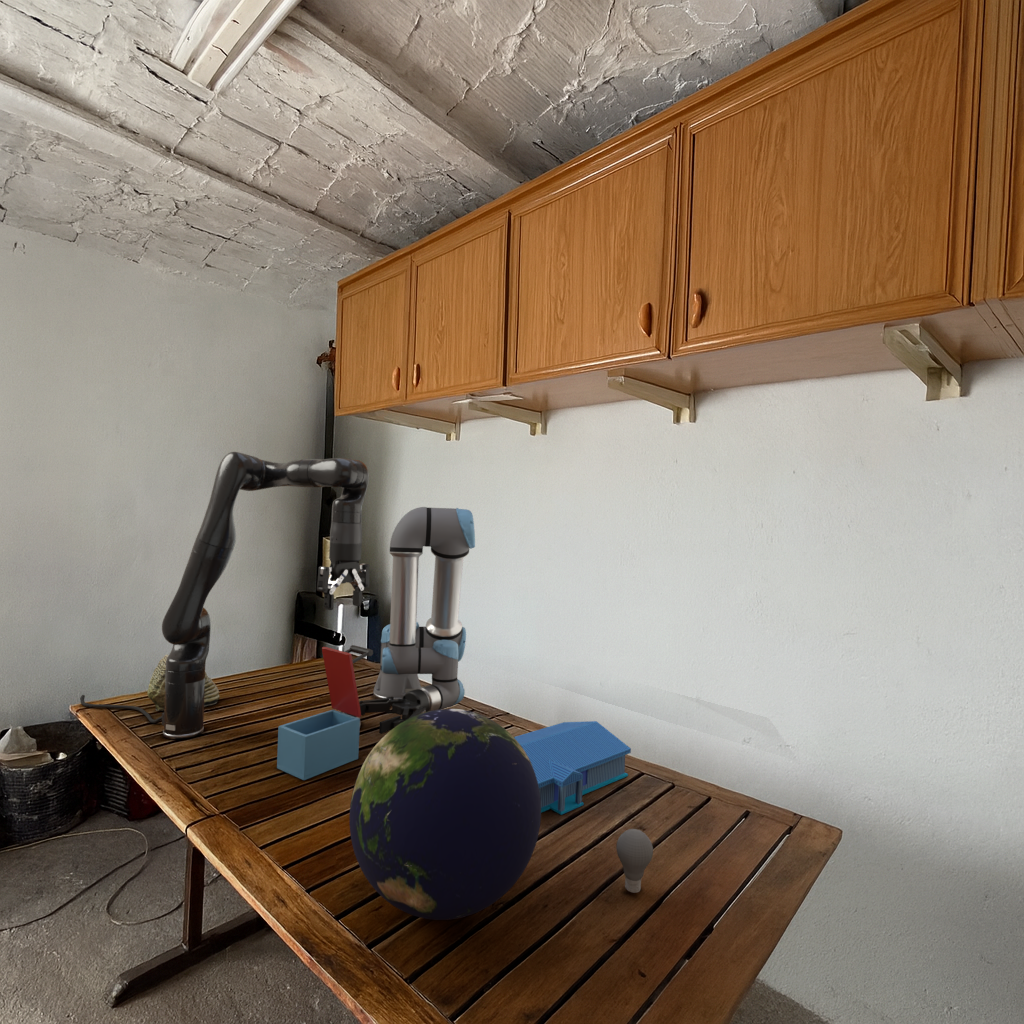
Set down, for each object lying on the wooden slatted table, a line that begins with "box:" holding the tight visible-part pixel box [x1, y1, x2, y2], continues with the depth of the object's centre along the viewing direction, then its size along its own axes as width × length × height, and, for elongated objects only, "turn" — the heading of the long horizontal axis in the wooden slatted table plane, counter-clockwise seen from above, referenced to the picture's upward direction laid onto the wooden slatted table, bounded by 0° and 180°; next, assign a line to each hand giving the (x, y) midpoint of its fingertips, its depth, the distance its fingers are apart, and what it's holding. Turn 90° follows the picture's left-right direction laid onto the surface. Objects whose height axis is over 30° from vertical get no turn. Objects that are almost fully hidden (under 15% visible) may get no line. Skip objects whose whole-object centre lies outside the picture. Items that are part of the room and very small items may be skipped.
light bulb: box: [615, 828, 654, 894], centre depth 106 cm, size 6×6×10 cm
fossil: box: [147, 654, 221, 712], centre depth 185 cm, size 9×18×15 cm, turn 132°
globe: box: [349, 708, 542, 921], centre depth 100 cm, size 30×30×30 cm
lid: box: [321, 644, 374, 718], centre depth 158 cm, size 16×10×9 cm
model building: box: [513, 720, 632, 816], centre depth 144 cm, size 39×24×10 cm, turn 132°
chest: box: [276, 709, 361, 781], centre depth 150 cm, size 16×10×10 cm, turn 145°
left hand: (343, 607), depth 154 cm, fingers open, 8 cm apart
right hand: (362, 721), depth 161 cm, fingers open, 13 cm apart
